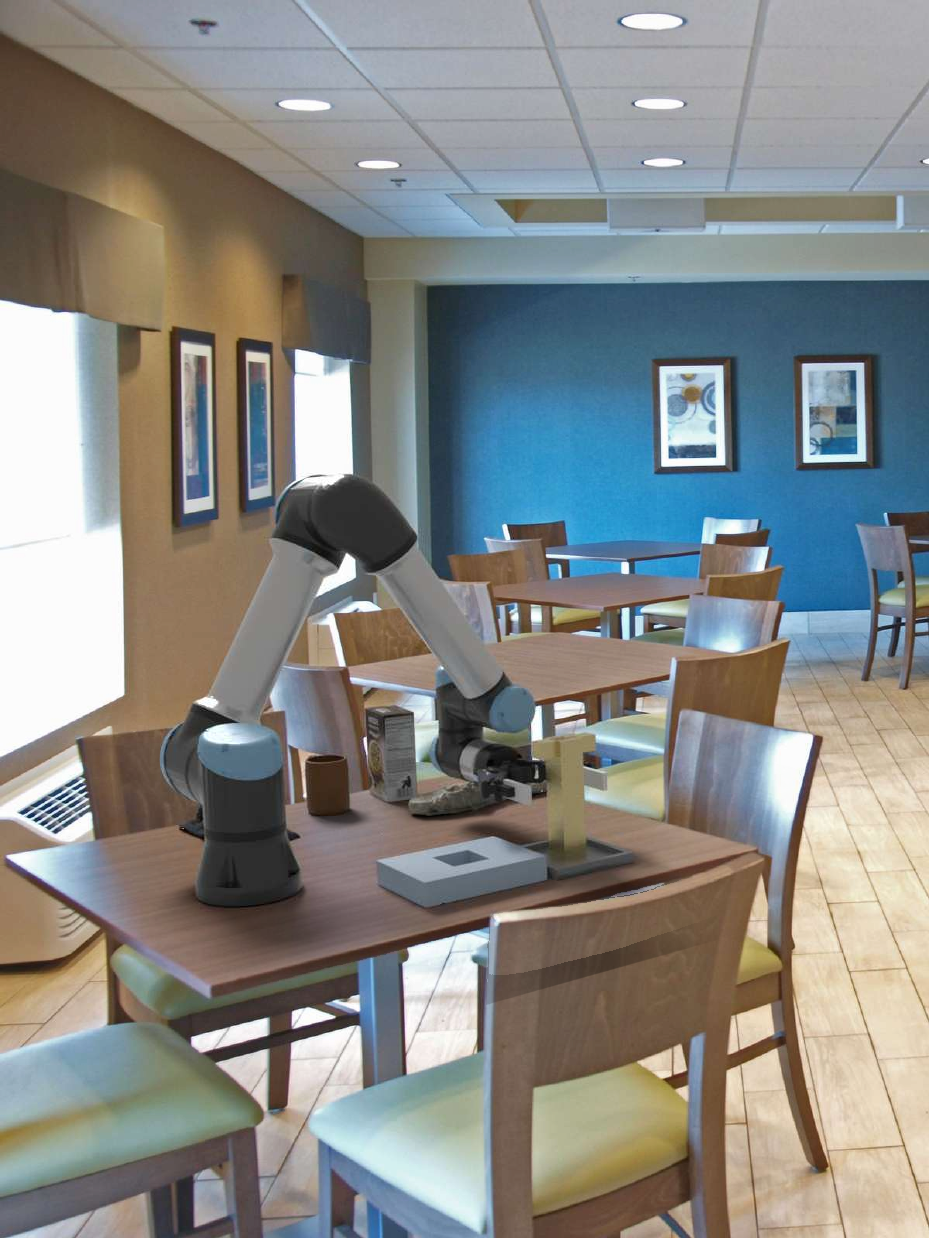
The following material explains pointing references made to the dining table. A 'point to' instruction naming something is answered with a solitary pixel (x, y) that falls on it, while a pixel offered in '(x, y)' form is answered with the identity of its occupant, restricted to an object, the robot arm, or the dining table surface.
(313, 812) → the mug
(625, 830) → the dining table surface
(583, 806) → the t key
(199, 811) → the dark slate chunk
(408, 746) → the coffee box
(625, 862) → the tray
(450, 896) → the cover plate
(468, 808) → the long grey stone
